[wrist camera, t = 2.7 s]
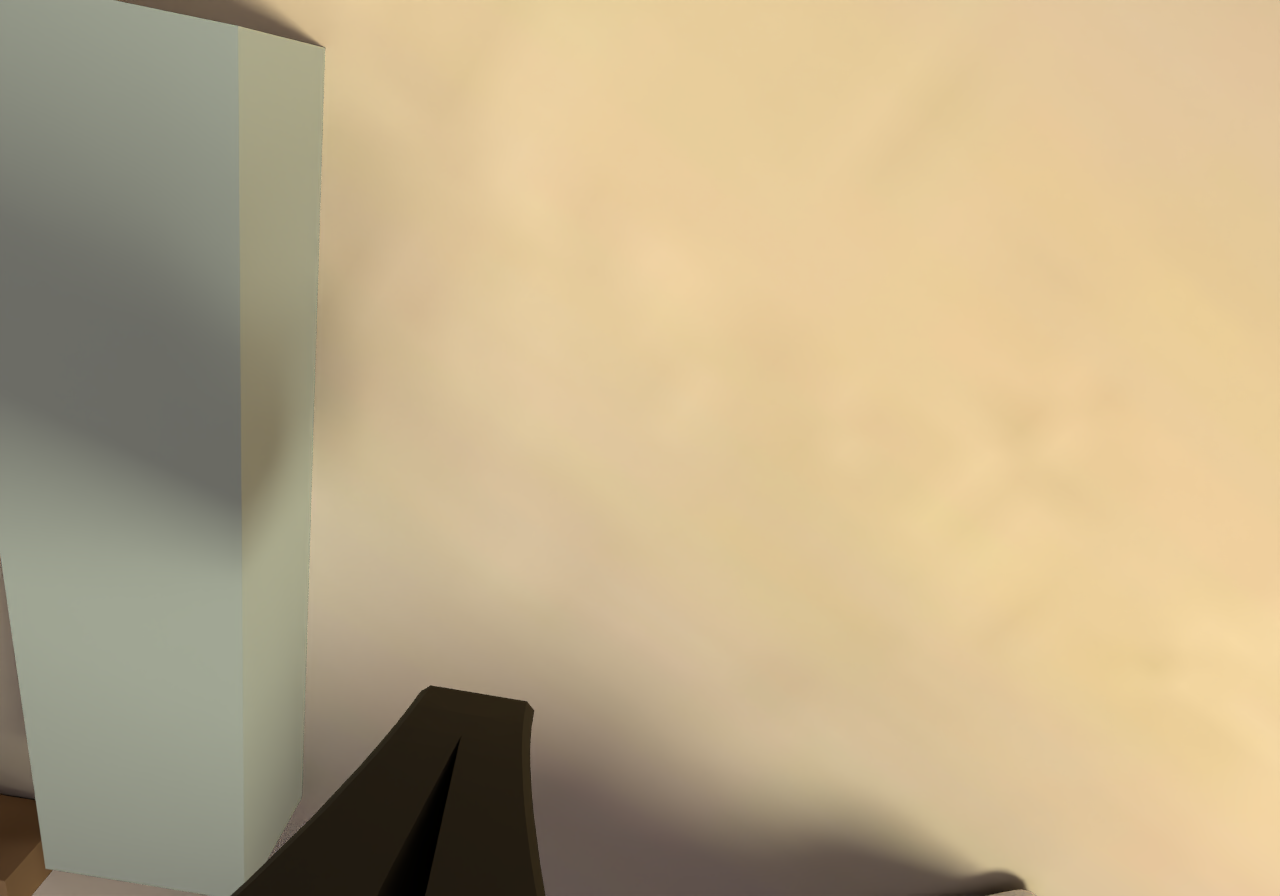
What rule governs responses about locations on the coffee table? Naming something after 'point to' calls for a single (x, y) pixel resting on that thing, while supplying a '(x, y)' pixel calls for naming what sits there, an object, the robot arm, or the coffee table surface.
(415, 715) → the robot arm
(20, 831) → the end rail
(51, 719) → the slat
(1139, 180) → the coffee table surface
